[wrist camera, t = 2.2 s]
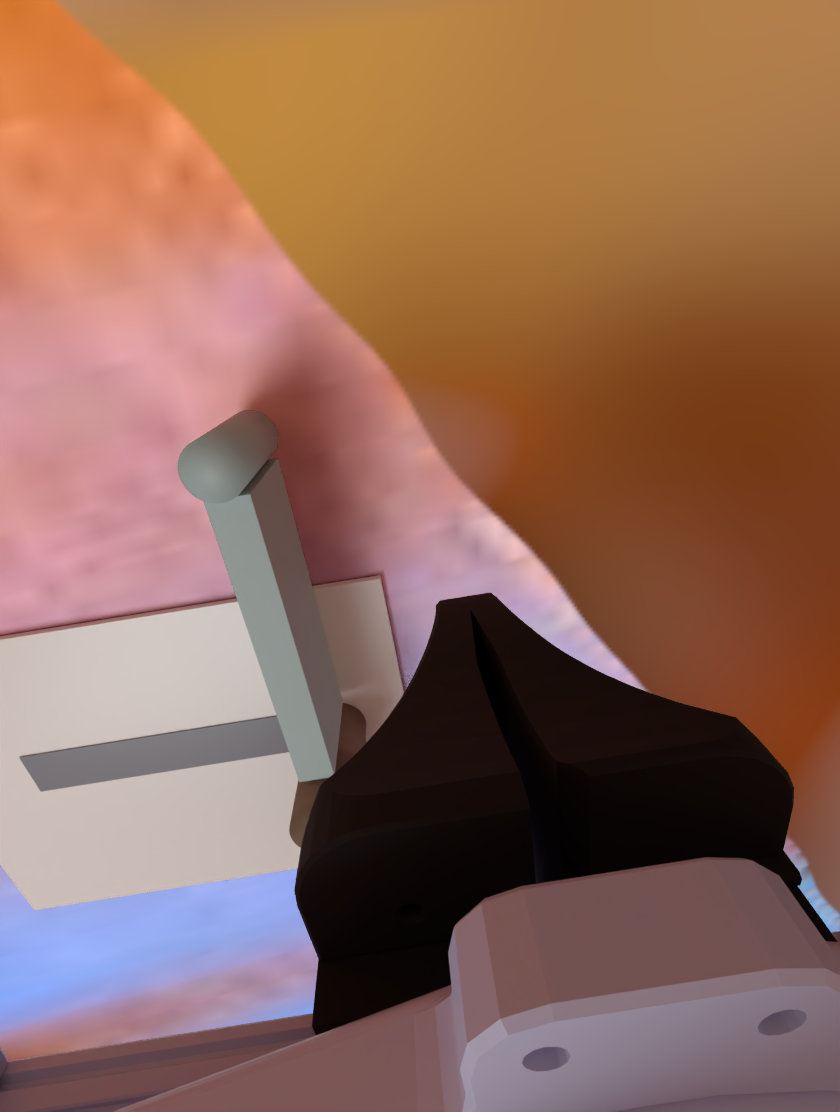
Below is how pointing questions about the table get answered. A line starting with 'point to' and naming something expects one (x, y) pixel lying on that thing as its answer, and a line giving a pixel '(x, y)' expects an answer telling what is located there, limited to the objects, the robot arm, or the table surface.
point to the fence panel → (270, 581)
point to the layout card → (163, 746)
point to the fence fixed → (348, 746)
